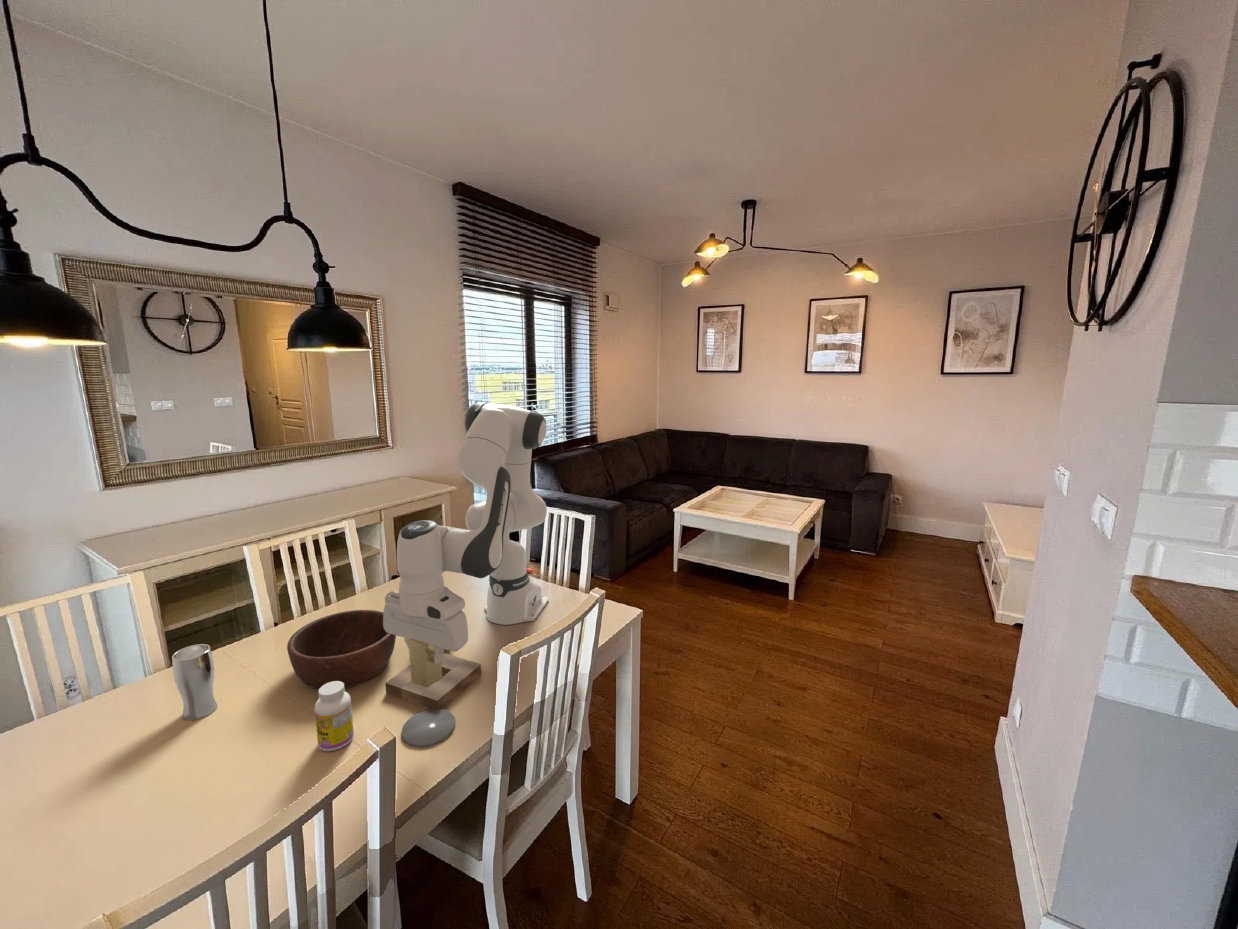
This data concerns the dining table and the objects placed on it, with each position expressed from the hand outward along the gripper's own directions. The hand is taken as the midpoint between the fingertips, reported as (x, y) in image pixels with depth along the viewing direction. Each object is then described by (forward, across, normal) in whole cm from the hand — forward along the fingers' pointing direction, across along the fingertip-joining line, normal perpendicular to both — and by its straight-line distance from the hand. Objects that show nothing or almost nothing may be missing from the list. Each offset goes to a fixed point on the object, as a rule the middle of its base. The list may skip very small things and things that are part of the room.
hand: (426, 658), depth 108 cm
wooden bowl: (+17, -36, +9) cm, 41 cm away
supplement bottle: (+17, -15, -11) cm, 26 cm away
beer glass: (+17, -51, -17) cm, 57 cm away
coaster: (+17, 0, 0) cm, 17 cm away
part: (+5, 0, 0) cm, 5 cm away
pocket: (+17, -10, +13) cm, 24 cm away
